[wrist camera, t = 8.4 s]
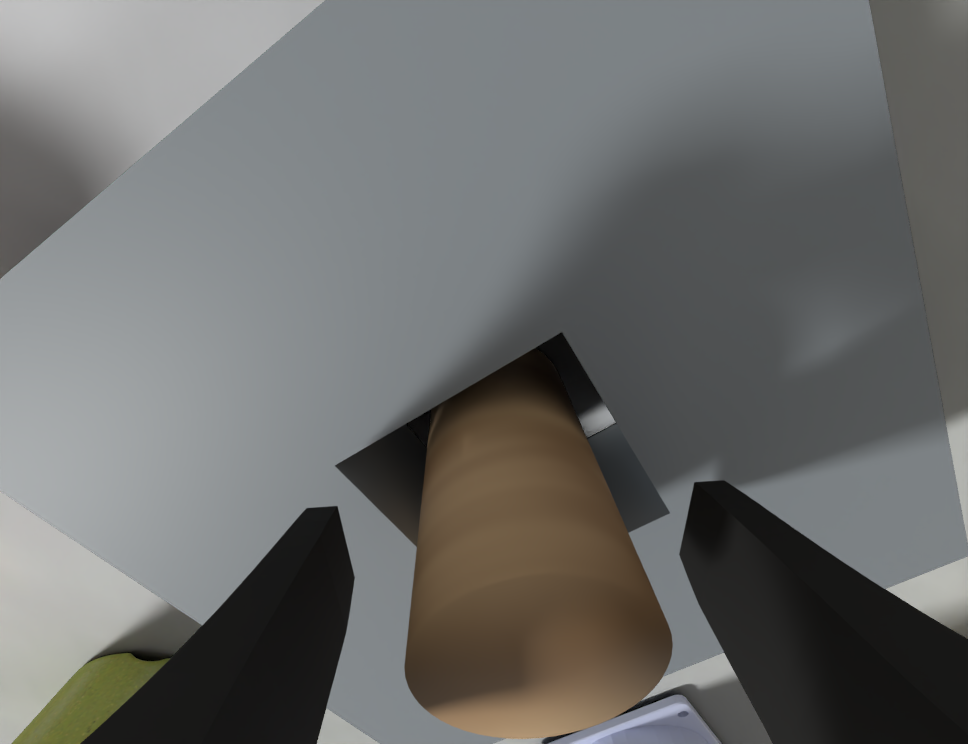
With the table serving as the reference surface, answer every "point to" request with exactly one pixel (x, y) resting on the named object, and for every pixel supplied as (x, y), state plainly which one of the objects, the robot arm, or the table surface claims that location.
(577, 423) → the peg
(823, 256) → the socket block
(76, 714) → the plant pot
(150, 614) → the table surface
